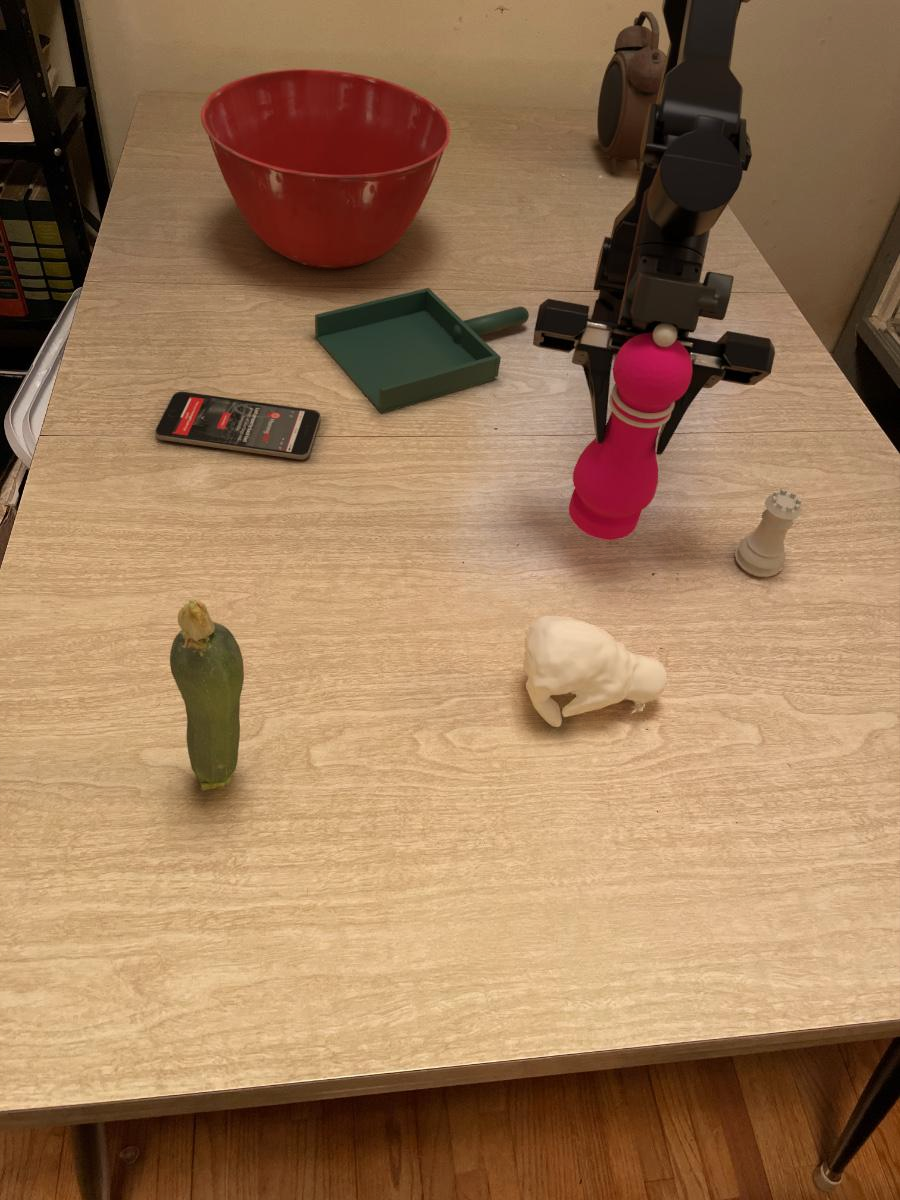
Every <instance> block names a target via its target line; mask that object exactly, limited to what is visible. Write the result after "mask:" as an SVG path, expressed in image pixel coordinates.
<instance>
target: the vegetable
mask: <svg viewBox="0 0 900 1200" xmlns="http://www.w3.org/2000/svg"><path fill="white" fill-rule="evenodd" d="M188 601H189V602H188V603H184V605H183V606H182V607H181V608H180V609H179V611H178V614H177V624H178V626H179V627H180V629H181V630H180V631H179V632H178V633H177V634H176V635H175V637H174V639H173V641H172V644H171V648H170V654H169V666H170V672H171V675H172V677H173V679H174V681H175V684H176V686H177V688H178V690H179V692H180V695H181V697H182V700H183V702H184V708H185V713H186V737H185V738H186V748H187V754H188V758H189V762H190V767H191V770H192V772H193V774H194V775H195V777H196V779H197V781H199V785H200V790H201V791H209V790H213V789H216V788H223V787H225V786H226V785H230V784H231V780H232V776H233V775H234V773H235V772H236V769H237V765H238V760H239V747H240V738H241V721H240V711H241V710H240V709H241V697H242V693H243V692H242V691H243V686H244V680H245V671H244V670H245V669H244V659H243V656H242V651H241V647H240V645H239V643H238V641H237V640H236V638H235V636H234V634H233V633H232V632H231V630H230V629H229V628H227V627H226V626H224V625H223V624H221V623H218V622H215V621H213V619H212V618H211V616H210V614H209V611H208V607H207V606H206V604H205V603H202V602H201V601H200V600H199V601H198V600H197V599H196V598H195V599H194V598H189V599H188Z"/></svg>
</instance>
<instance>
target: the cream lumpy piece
mask: <svg viewBox="0 0 900 1200" xmlns="http://www.w3.org/2000/svg"><path fill="white" fill-rule="evenodd" d="M524 633H525V637H524V649H525V650H524V659H523V662H522V663H523V664H522V665H523V669H524V671H525V673H526V675H527V677H528V678H527V680H526V684H525V689H526V690H527V693H528V696H529V698H530V701H531V703H532V705H533V708H534V709H535V711H536V712H537V713H538V714H539V716H540V717H542V718H543V720H545V722H546V723H547V724H548V725H550V726H552V727H554V728H559V727H560V726H561V725H562V723H563V719H562V716H563V717H564V718H568V717H572V716H577V715H580V714H584V713H588V712H591V711H596V710H601V709H603V708H606V707H608V706H610V705H616V704H619V703H620V702H623V700H628V701H632V702H633V703H634V706H632V708H634V709H633V710H632V711H631V713H630V715H632V714H633V713H637V712H643V711H644V708H645V706H646V704H645V703H648V702H653V701H655V700H656V699H658V698H659V697H660V696H661V695H663V692H664V691H665V689H666V688H667V684H668V671H667V668H666V666H665V665H664V664H663V663H662V662H661V661H659V660H658V659H656V658H653V657H651V656H648V655H643V654H635V653H633V652H631V651H629V650H628V649H627V648H626V646H625V644H623V642H619V641H616V639H615V638H614V637H613V635H611V634H610V633H609V632H608V631H607V630H604V629H602V628H600V627H599V626H597V625H594V624H592V623H590V622H587V621H584V620H581V619H577V618H575V617H572V616H562V615H544V616H541V617H538V618H537V619H535V620H533V622H531V624H529V625H528V626H527V627H526V628H525V630H524ZM569 693H570V694H573V695H575V698H573V699H572V700H571V701H570V702H569V703H567V704H566V705H565V706H564V707H563V708H562V710H561V709H560V706H559V704H558V702H557V701H555V699H553V698H552V697H551V696H558V695H563V694H564V695H566V694H569ZM628 710H630V708H628ZM628 710H627V711H628Z"/></svg>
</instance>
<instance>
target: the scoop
mask: <svg viewBox="0 0 900 1200" xmlns="http://www.w3.org/2000/svg"><path fill="white" fill-rule="evenodd" d="M529 315H530V313H529V311H528V309H527V308H526V307H524V306H516V307H512V308H508V309H504V310H499V311H497V312H491V313H489V314H485V315H480V316H477V317H474V318H469V319H466V320H463V319H462V318H461V317H460V316H459V315H457V313H456V312H454V310H452V309H451V307H449V305H447V304H446V302H444V301H443V300H442V299H441V298H440V297H439V296H438V295H437V294H436V293H435V292H434V291H433V290H431V288H430V287H426V288H422V289H417V290H413V291H409V292H405V293H400V294H397V295H393V296H388V297H384V298H379V299H375V300H371V301H366V302H363V303H358V304H354V305H350V306H346V307H341V308H338V309H333V310H328V311H324V312H320V313H316V314H314V338H315V339H316V340H317V341H318V343H319V344H320V345H321V346H322V347H323V348H324V349H325V350H326V352H327V353H328V354H329V355H330V357H331V358H332V359H333V360H334V361H335V362H336V363H337V365H338V366H339V367H340V368H341V369H342V370H343V371H344V373H345V374H346V375H347V376H348V378H350V379H351V381H352V382H353V383H354V384H355V385H356V386H357V388H358V389H359V390H360V391H361V392H362V393H363V395H365V397H366V398H367V400H368V401H370V403H371V404H372V405H373V406H374V407H375V408H376V410H377V411H378V412H379V413H380V414H385V413H388V412H391V411H395V410H397V409H402V408H405V407H408V406H411V405H415V404H418V403H422V402H426V401H428V400H431V399H432V400H433V399H435V398H439V397H443V396H446V395H449V394H452V393H453V394H454V393H456V392H459V391H462V390H466V389H470V388H474V387H476V386H480V385H483V384H486V383H490V382H494V378H497V377H499V371H500V365H501V358H502V357H501V356H500V354H498V352H496V351H495V350H494V349H493V348H492V347H491V346H490V345H489V344H488V343H487V342H486V341H485V340H484V339H483V338H482V337H481V336H483V335H487V334H491V333H495V332H498V331H502V330H505V329H510V328H514V327H517V326H521V325H523V324H525V323H527V322H528V320H529V318H530V316H529Z"/></svg>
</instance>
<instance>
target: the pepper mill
mask: <svg viewBox="0 0 900 1200" xmlns="http://www.w3.org/2000/svg"><path fill="white" fill-rule="evenodd" d="M676 338H677V330H676V328H675V327H674V325H672V324H670V323H665V322H664V323H660V324H659V325H657V326H656V328H655V329H654V331H653V333H643V334H640V335H637V336H635V337H633V338H631V339H630V340H628V341H627V342H626V343H625V344H624V345H623V346H622V347H621V349H620V350H619V352H618V353H616V355H615V359H614V362H613V365H612V377H613V381H614V385H613V386H612V389H611V394H610V395H609V398H608V406H609V408H610V410H611V412H610V415H609V417H608V419H607V422H606V428H605V433H604V437H603V442H602V443H601V444H598V443H597V442H596V437H595V438H594V439H593V440H592V441H590V443H589V444H587V446H585V448H584V449H583V450H582V451H581V454H580V455H579V457H578V458H577V461H576V463H575V466H574V468H573V471H572V483H573V488H574V489H573V490H572V494H571V497H570V500H569V504H568V514H569V516H570V519H571V522H572V523H573V524H574V526H576V527H577V528H578V529H579V530H581V531H582V532H583V533H584V534H586V535H589V536H591V537H593V538H596V539H601V540H606V541H613V540H614V541H615V540H619V539H623V538H625V537H628V536H630V535H631V534H632V533H633V532H634V531H635V530H636V528H637V526H638V523H639V520H640V518H641V515H642V512H643V510H644V509H645V508H647V507H649V505H650V504H651V502H652V501H653V499H654V497H655V495H656V491H657V488H658V485H659V464H658V457H657V454H656V451H657V441H658V439H657V438H658V437H659V433H660V431H659V430H660V429H661V427H662V425H663V424H665V423H666V422H667V421H668V420H669V418H670V416H671V412H672V410H673V408H674V405H675V401H677V400H678V399H679V398H680V397H682V396H683V395H684V394H685V392H686V391H687V389H688V387H689V385H690V381H691V377H692V372H693V369H692V360H691V358H690V355H689V353H688V351H687V350H686V348H685V347H684V346H683V345H682V344H681V343H680V342H679V341H677V340H676Z"/></svg>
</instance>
